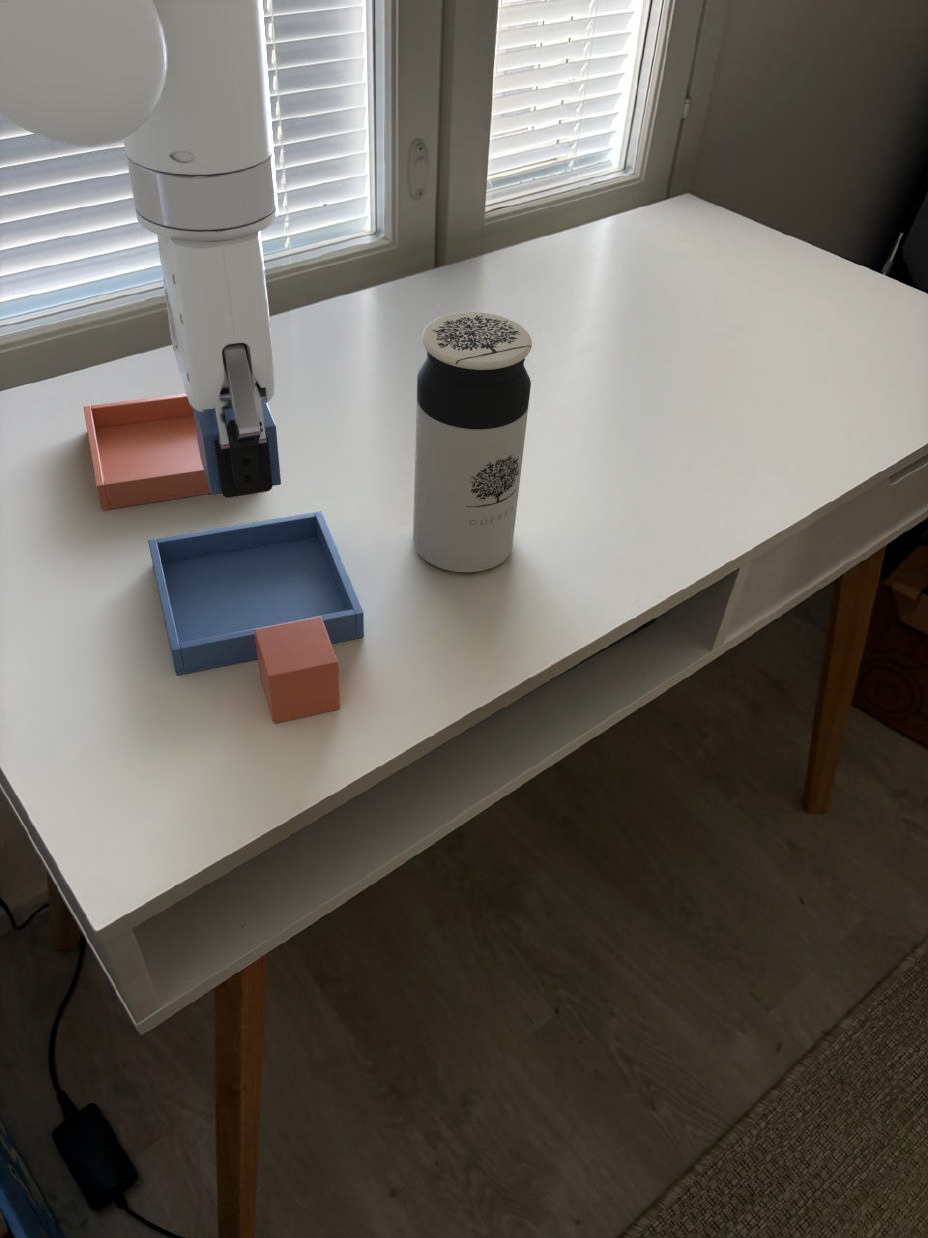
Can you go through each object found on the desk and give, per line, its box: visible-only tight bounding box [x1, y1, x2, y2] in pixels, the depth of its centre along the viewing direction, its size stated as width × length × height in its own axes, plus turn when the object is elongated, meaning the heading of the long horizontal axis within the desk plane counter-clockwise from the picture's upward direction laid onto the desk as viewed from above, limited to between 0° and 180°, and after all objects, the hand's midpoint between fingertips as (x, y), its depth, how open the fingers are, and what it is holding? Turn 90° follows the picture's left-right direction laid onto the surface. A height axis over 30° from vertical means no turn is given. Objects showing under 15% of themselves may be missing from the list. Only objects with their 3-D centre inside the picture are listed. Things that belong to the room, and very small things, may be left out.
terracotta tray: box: [83, 392, 211, 511], centre depth 86 cm, size 13×12×2 cm
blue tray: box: [147, 510, 365, 676], centre depth 74 cm, size 13×12×2 cm
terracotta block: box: [254, 617, 341, 724], centre depth 67 cm, size 4×4×4 cm
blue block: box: [193, 399, 282, 497], centre depth 65 cm, size 4×4×4 cm
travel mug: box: [412, 311, 533, 573], centre depth 74 cm, size 8×8×18 cm
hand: (239, 466), depth 66 cm, fingers closed on blue block, 4 cm apart
